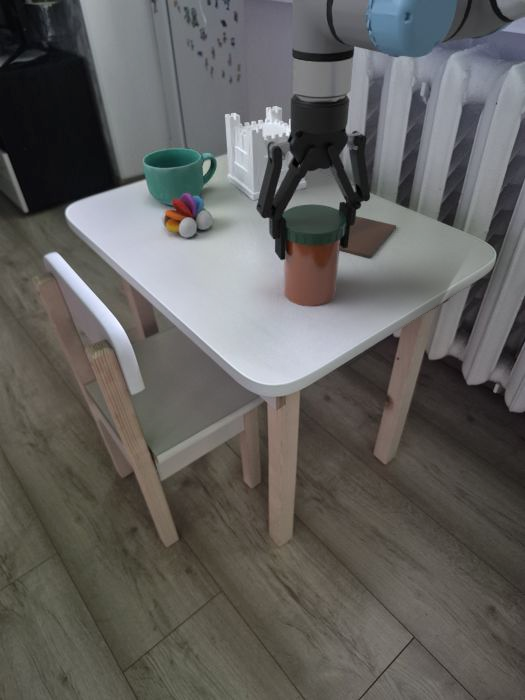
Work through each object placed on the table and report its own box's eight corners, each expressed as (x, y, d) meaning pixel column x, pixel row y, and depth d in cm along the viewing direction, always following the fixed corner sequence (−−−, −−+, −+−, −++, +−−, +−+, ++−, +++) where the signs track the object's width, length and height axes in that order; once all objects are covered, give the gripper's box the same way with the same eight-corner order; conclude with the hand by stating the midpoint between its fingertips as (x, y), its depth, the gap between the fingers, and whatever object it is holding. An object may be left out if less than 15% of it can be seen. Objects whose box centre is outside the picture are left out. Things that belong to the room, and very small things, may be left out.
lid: (328, 211, 78) (329, 200, 77) (356, 239, 71) (358, 227, 70) (271, 221, 76) (271, 209, 75) (294, 250, 69) (294, 238, 68)
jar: (343, 285, 82) (351, 216, 74) (321, 312, 76) (326, 240, 68) (298, 272, 85) (300, 204, 77) (273, 296, 80) (273, 226, 72)
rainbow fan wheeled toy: (157, 230, 98) (150, 196, 94) (193, 214, 104) (189, 182, 99) (183, 244, 94) (178, 209, 89) (219, 226, 99) (216, 193, 94)
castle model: (253, 200, 109) (251, 131, 99) (227, 179, 118) (222, 114, 108) (306, 187, 114) (309, 120, 104) (277, 168, 123) (277, 105, 113)
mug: (158, 215, 104) (150, 172, 97) (144, 194, 112) (136, 153, 106) (229, 201, 109) (226, 158, 102) (210, 182, 117) (206, 141, 111)
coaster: (395, 228, 97) (396, 225, 97) (370, 258, 88) (370, 255, 88) (332, 213, 103) (333, 210, 103) (302, 240, 94) (303, 238, 94)
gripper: (383, 80, 66) (364, 227, 81) (227, 96, 61) (236, 250, 76) (413, 92, 61) (386, 248, 76) (244, 111, 56) (250, 274, 71)
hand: (311, 249), depth 76 cm, fingers closed on lid, 10 cm apart
